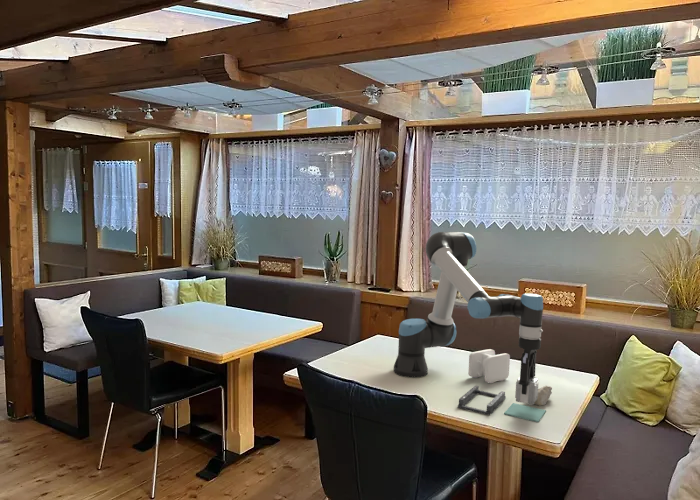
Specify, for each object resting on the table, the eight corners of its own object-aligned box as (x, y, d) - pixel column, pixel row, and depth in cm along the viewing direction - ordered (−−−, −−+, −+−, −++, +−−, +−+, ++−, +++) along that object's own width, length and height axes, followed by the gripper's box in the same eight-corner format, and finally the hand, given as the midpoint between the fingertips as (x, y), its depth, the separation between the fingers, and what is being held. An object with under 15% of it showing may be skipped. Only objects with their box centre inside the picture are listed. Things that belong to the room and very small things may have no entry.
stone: (523, 409, 206) (519, 390, 201) (538, 388, 212) (534, 369, 208) (542, 415, 200) (538, 396, 196) (556, 394, 207) (553, 375, 203)
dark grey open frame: (457, 407, 195) (457, 399, 195) (475, 392, 212) (475, 384, 212) (489, 415, 189) (490, 407, 189) (505, 398, 206) (505, 390, 206)
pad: (504, 414, 190) (504, 412, 190) (512, 404, 201) (513, 402, 200) (538, 422, 184) (538, 420, 184) (545, 411, 194) (545, 410, 194)
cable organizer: (485, 385, 221) (487, 358, 220) (466, 378, 230) (468, 351, 229) (509, 379, 230) (510, 353, 229) (490, 372, 238) (491, 347, 237)
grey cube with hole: (514, 401, 191) (515, 378, 190) (518, 396, 196) (520, 374, 195) (534, 405, 187) (535, 382, 187) (537, 400, 193) (539, 378, 192)
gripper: (534, 344, 180) (530, 410, 182) (546, 333, 196) (542, 394, 198) (512, 340, 184) (508, 405, 186) (525, 330, 200) (522, 390, 202)
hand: (526, 399), depth 192 cm, fingers closed on grey cube with hole, 6 cm apart
